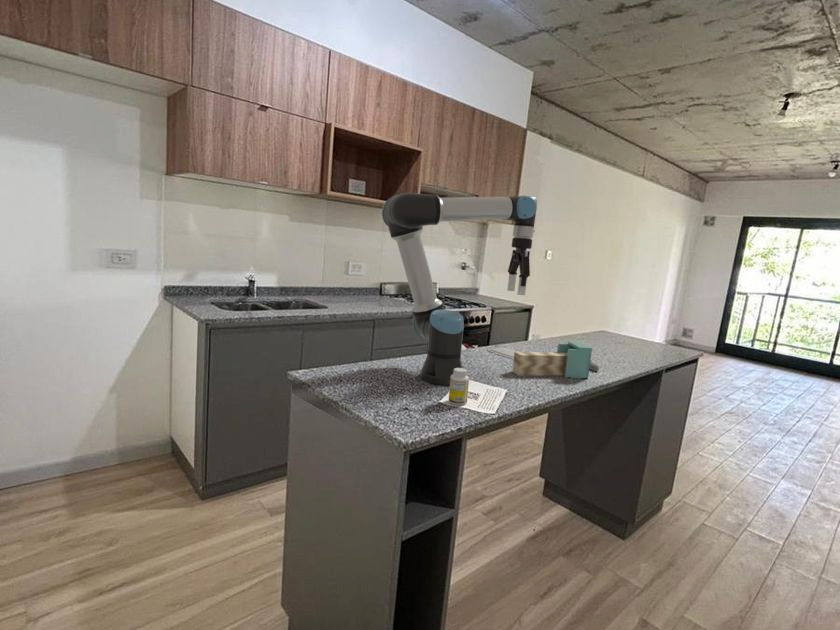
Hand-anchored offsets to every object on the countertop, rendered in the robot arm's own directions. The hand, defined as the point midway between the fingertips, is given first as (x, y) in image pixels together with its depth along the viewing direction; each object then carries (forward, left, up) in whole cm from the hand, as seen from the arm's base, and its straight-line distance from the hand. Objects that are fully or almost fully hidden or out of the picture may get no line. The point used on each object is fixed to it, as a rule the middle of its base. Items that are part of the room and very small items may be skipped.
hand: (515, 292), depth 177 cm
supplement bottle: (-29, -43, -30) cm, 60 cm away
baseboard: (+10, +13, -30) cm, 34 cm away
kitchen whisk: (+37, +13, -30) cm, 49 cm away
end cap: (+23, -8, -30) cm, 38 cm away
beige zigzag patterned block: (+12, -8, -30) cm, 33 cm away
